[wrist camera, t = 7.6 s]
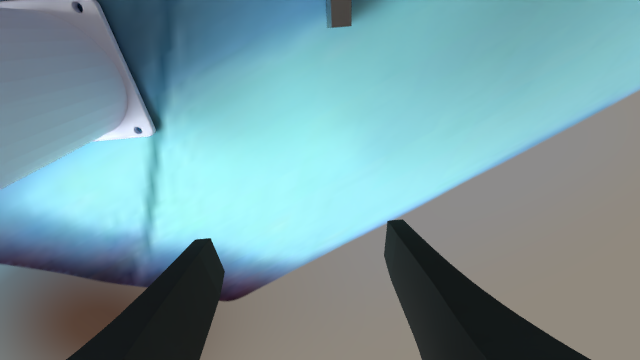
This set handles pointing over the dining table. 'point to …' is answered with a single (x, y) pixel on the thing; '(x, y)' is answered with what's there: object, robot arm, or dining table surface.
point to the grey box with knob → (338, 13)
